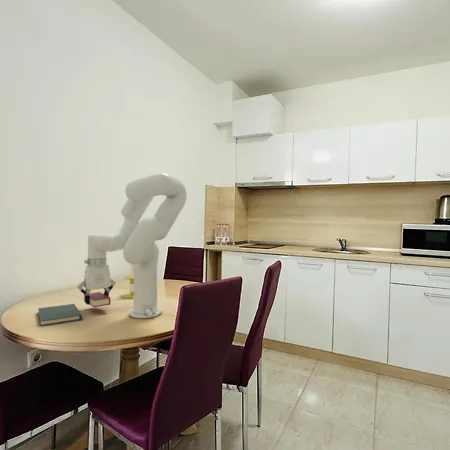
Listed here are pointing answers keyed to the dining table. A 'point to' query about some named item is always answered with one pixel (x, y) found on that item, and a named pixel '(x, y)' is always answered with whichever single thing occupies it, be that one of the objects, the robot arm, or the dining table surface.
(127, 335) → the dining table surface
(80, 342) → the dining table surface
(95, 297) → the burgundy book
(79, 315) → the green book
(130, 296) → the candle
